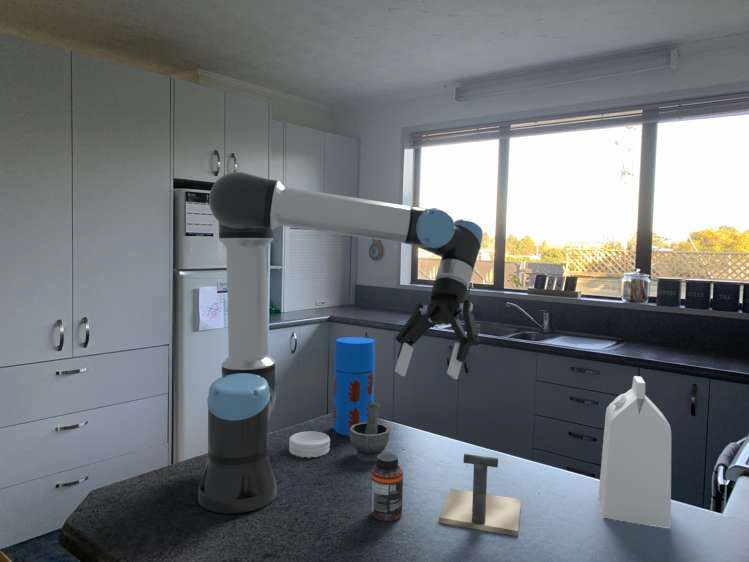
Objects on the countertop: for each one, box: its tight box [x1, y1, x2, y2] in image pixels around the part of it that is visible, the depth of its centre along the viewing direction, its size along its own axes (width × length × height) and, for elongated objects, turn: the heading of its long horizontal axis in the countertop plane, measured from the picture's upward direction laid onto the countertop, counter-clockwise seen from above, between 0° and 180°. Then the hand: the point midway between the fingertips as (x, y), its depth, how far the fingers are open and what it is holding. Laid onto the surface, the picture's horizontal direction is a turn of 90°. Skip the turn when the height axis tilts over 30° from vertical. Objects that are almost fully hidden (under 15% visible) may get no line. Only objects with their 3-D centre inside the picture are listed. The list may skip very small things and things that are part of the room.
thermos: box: [333, 336, 376, 437], centre depth 150 cm, size 11×11×25 cm
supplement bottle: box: [370, 452, 404, 522], centre depth 103 cm, size 6×6×11 cm
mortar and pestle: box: [349, 402, 391, 463], centre depth 132 cm, size 11×9×12 cm
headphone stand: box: [438, 453, 522, 537], centre depth 104 cm, size 14×13×13 cm
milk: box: [598, 375, 672, 528], centre depth 107 cm, size 12×12×26 cm
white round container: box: [288, 430, 331, 459], centre depth 135 cm, size 10×10×4 cm
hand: (424, 375), depth 110 cm, fingers open, 13 cm apart
